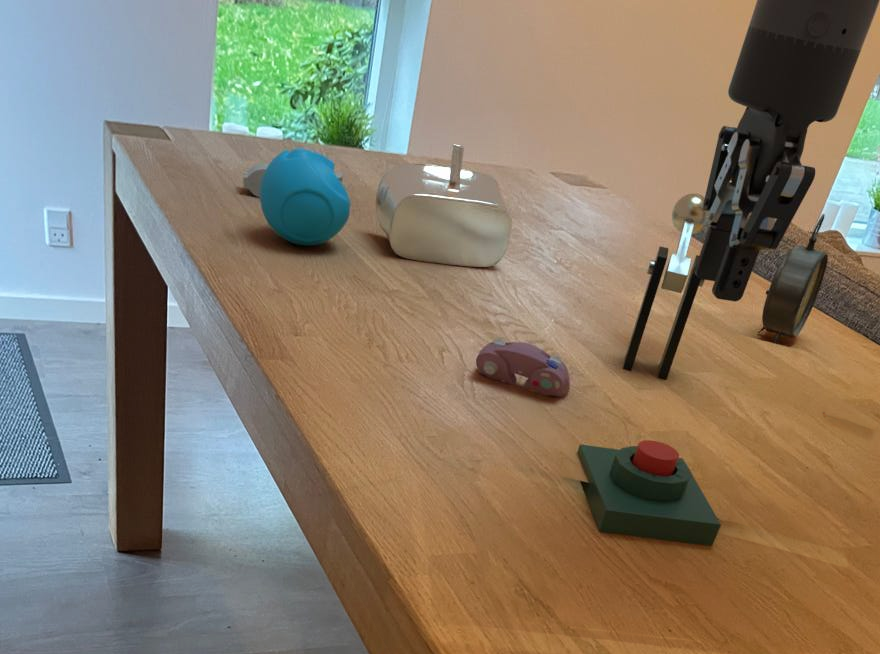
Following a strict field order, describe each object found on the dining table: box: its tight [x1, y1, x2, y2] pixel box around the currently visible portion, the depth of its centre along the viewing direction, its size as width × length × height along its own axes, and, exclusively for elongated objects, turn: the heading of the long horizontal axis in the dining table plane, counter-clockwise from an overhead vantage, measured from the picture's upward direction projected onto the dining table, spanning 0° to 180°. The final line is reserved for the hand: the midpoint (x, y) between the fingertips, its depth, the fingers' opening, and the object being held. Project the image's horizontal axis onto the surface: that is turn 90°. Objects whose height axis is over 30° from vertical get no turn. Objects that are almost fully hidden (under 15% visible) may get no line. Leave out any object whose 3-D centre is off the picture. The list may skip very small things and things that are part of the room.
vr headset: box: [375, 143, 513, 268], centre depth 135 cm, size 18×11×14 cm, turn 99°
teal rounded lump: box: [260, 147, 351, 247], centre depth 129 cm, size 12×11×12 cm
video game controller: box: [475, 337, 571, 398], centre depth 101 cm, size 10×5×7 cm, turn 68°
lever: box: [660, 193, 709, 294], centre depth 108 cm, size 14×4×4 cm, turn 165°
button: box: [632, 439, 680, 476], centre depth 85 cm, size 4×4×2 cm
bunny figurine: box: [242, 162, 346, 199], centre depth 148 cm, size 10×5×15 cm
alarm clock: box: [757, 213, 829, 345], centre depth 128 cm, size 11×5×16 cm, turn 147°
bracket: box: [622, 246, 706, 381], centre depth 108 cm, size 12×9×14 cm
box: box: [577, 443, 722, 547], centre depth 86 cm, size 12×10×4 cm
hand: (716, 287), depth 76 cm, fingers open, 4 cm apart
